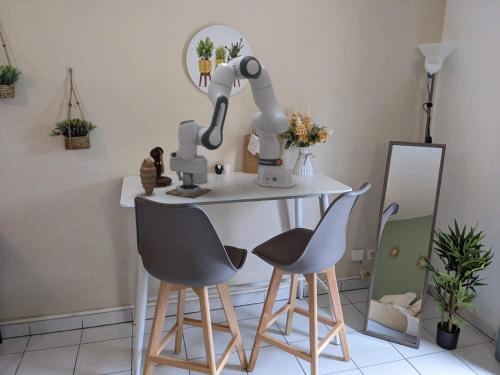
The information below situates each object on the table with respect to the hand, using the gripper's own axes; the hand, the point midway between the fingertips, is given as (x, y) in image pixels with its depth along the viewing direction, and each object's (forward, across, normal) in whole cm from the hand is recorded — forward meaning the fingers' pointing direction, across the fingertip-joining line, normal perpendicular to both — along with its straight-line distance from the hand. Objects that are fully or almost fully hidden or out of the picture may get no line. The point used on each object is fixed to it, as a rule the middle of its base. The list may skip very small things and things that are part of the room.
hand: (188, 181), depth 196 cm
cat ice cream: (+6, +15, +12) cm, 20 cm away
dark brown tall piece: (+6, +24, -6) cm, 25 cm away
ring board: (+6, 0, 0) cm, 6 cm away
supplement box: (+6, +8, -22) cm, 24 cm away
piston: (+5, 0, 0) cm, 5 cm away
